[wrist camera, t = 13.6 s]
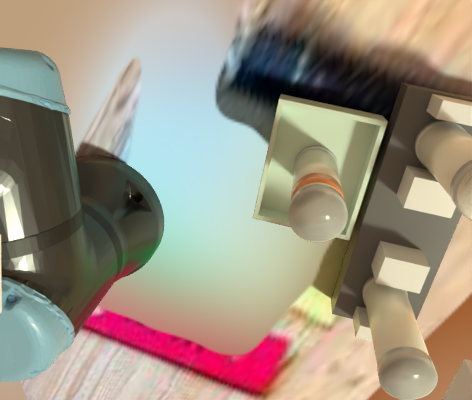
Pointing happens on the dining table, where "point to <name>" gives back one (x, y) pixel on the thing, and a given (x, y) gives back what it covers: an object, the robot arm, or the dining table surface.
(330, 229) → the marked fuse
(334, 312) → the block
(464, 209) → the fuse near
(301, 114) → the tray
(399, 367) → the cylinder
